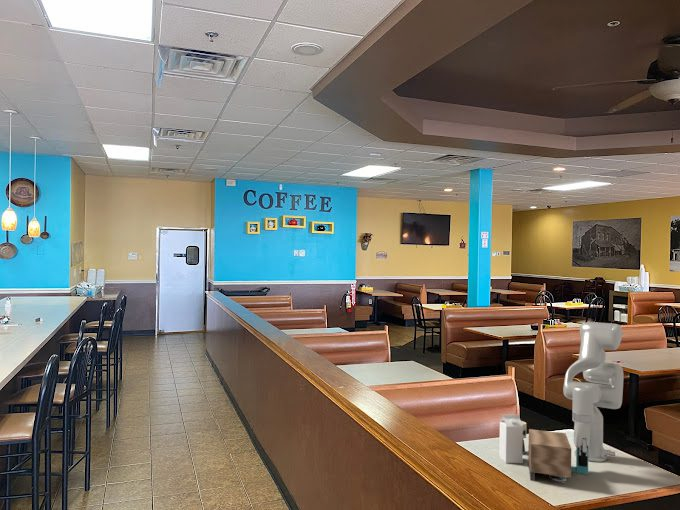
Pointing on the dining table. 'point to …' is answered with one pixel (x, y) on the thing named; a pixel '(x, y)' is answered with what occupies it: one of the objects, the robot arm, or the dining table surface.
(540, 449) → the cabinet
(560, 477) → the grey flat disc
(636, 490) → the dining table surface
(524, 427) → the character mug
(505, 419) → the milk carton
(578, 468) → the scraper
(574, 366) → the robot arm
